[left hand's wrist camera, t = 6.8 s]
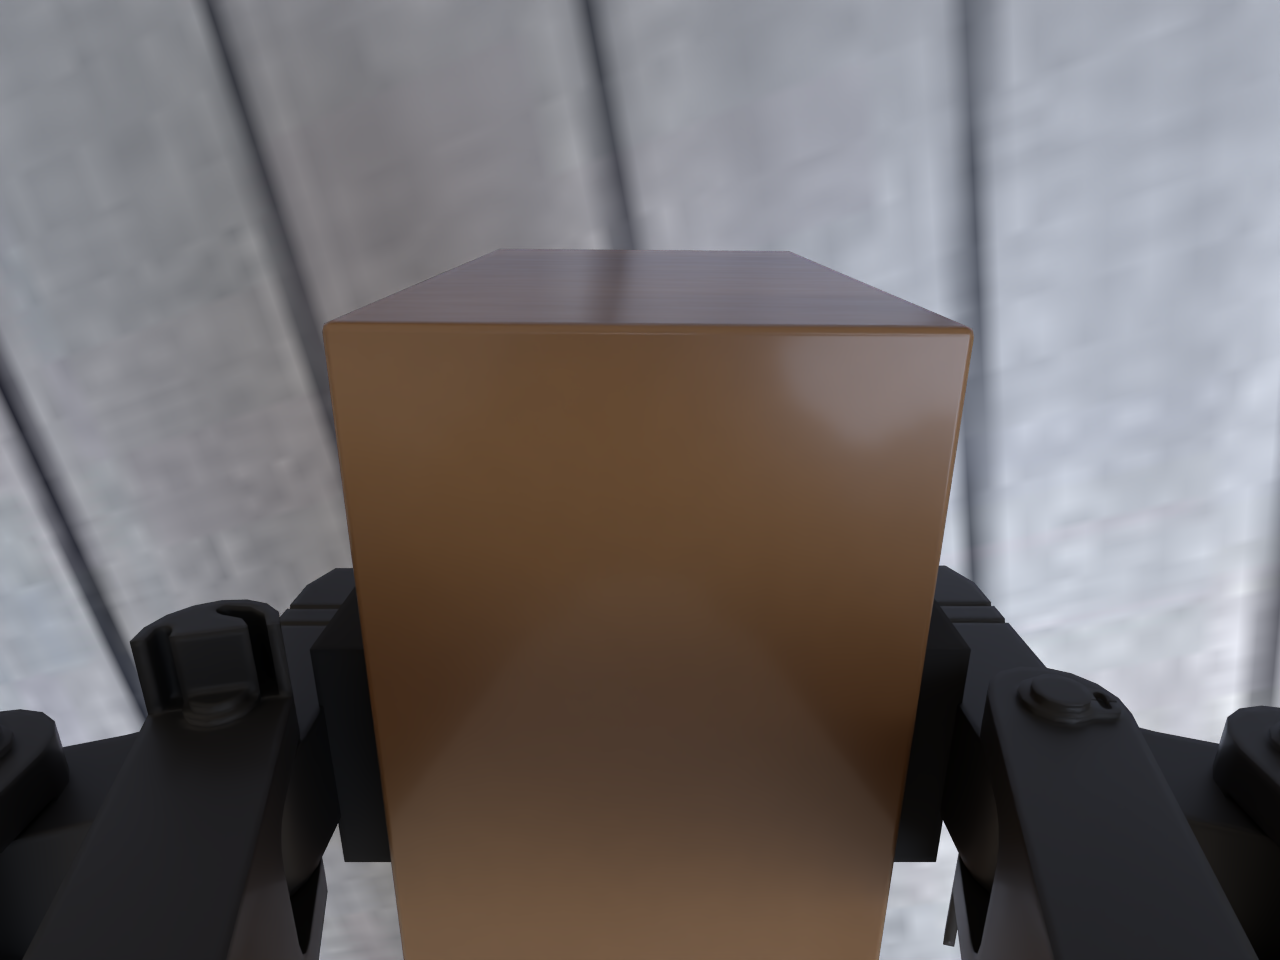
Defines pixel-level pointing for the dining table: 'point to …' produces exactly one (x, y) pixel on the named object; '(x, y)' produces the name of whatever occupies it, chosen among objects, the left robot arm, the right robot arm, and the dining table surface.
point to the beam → (644, 596)
